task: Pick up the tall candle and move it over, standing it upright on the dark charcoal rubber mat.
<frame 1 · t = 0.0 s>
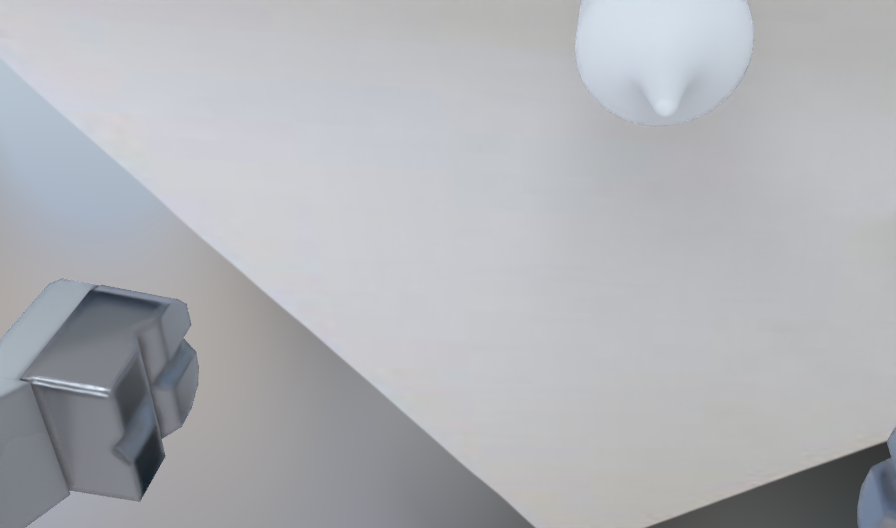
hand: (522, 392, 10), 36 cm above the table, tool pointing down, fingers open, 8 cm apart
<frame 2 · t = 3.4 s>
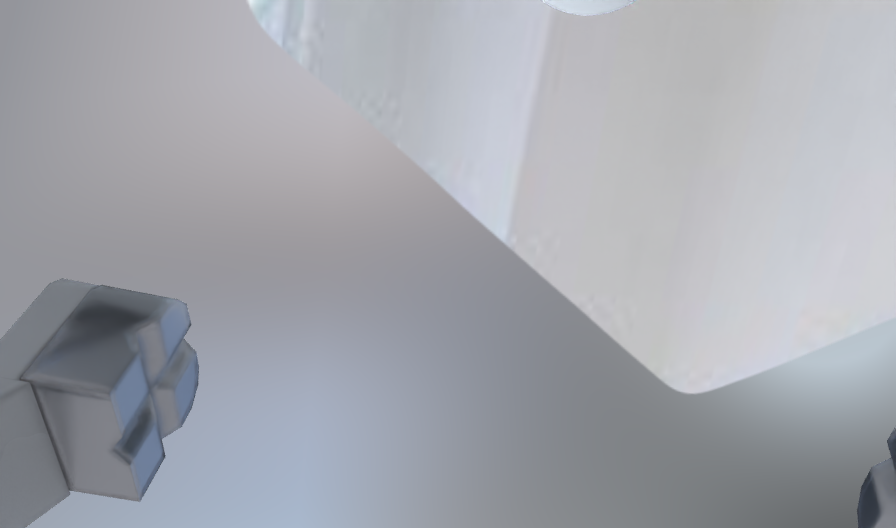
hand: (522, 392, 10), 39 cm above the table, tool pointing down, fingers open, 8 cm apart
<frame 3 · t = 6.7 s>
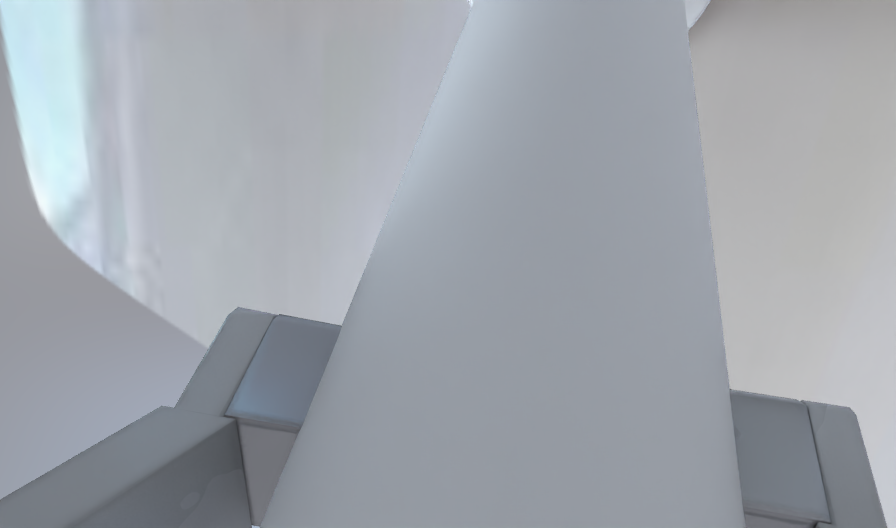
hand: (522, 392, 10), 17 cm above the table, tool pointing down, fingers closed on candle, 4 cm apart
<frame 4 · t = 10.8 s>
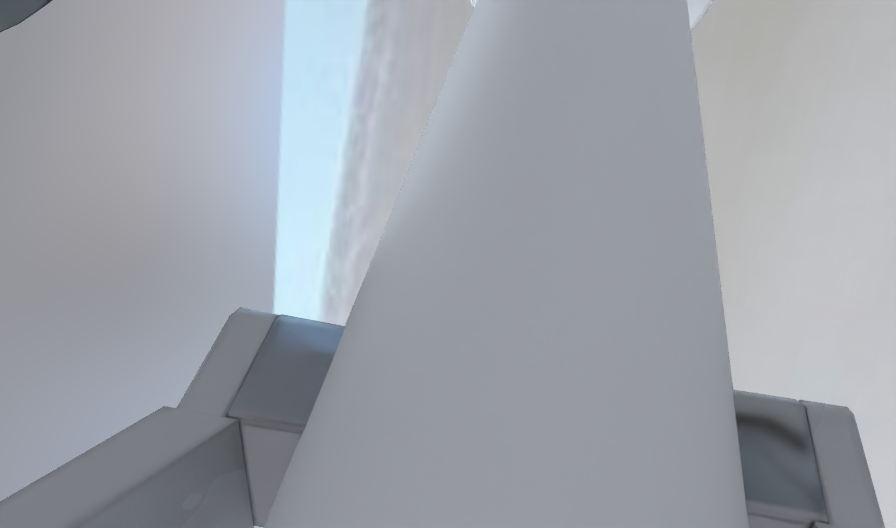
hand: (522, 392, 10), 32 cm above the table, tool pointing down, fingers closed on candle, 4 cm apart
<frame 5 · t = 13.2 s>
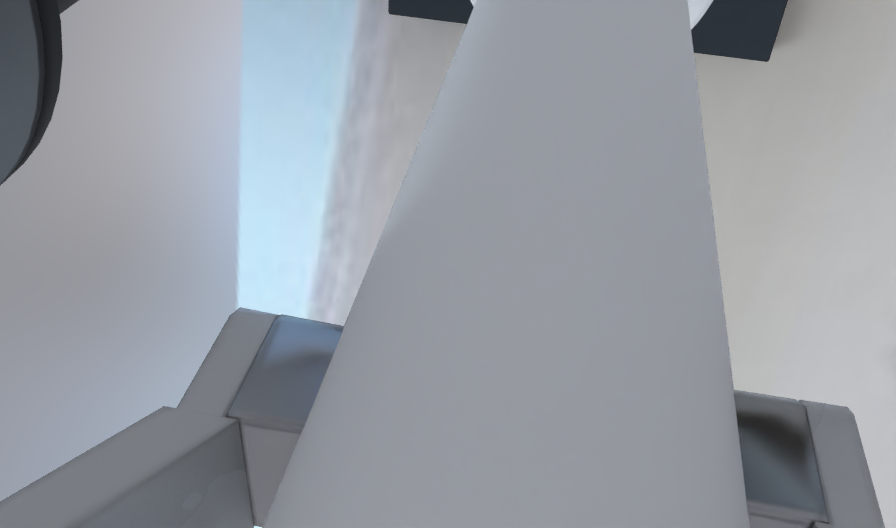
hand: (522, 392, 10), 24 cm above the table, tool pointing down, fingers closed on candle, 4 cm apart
when the fingers open (18 cm above the table, at t = 15.2 s): candle stays where it is, resting on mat.
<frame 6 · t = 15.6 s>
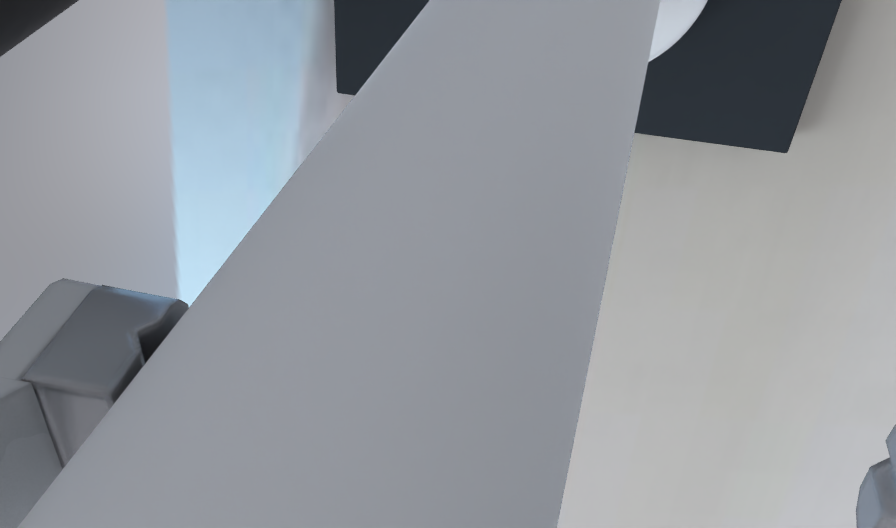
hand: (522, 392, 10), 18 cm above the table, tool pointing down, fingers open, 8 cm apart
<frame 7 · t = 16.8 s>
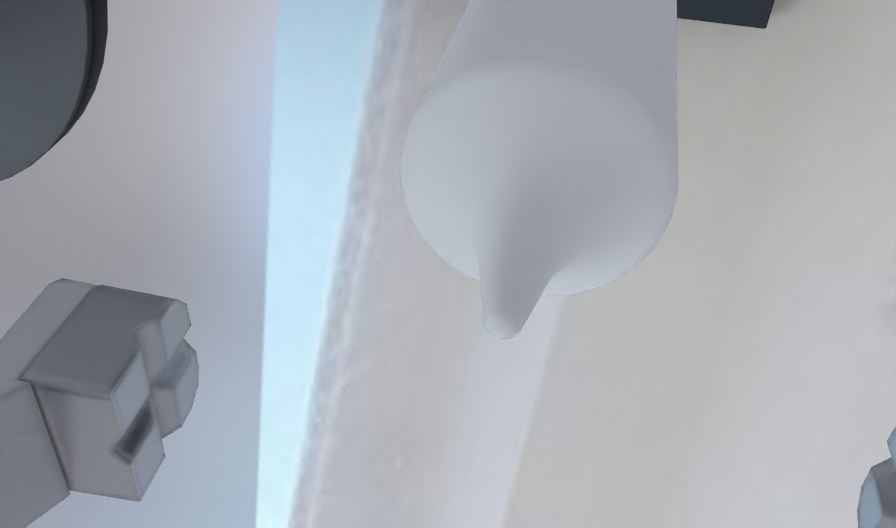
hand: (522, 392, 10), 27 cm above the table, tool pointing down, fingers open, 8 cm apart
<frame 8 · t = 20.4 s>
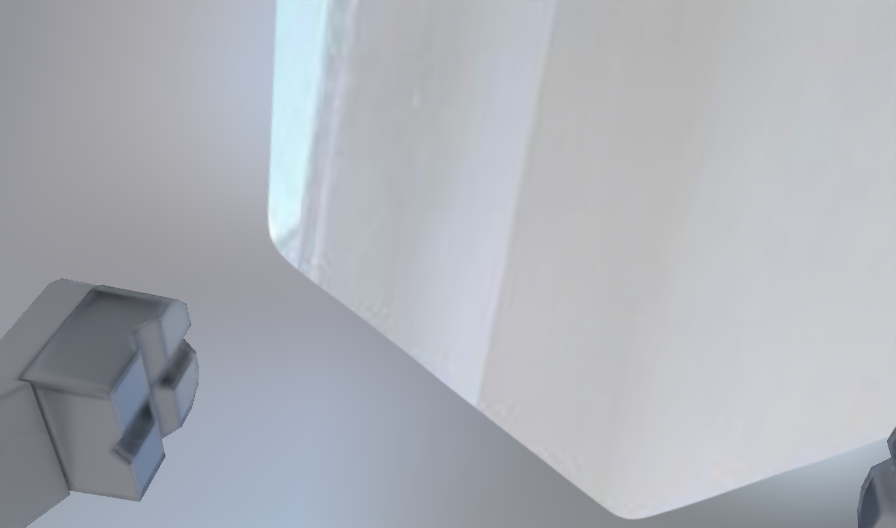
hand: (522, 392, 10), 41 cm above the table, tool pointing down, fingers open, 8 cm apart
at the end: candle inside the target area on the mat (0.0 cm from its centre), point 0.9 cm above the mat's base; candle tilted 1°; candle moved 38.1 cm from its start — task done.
